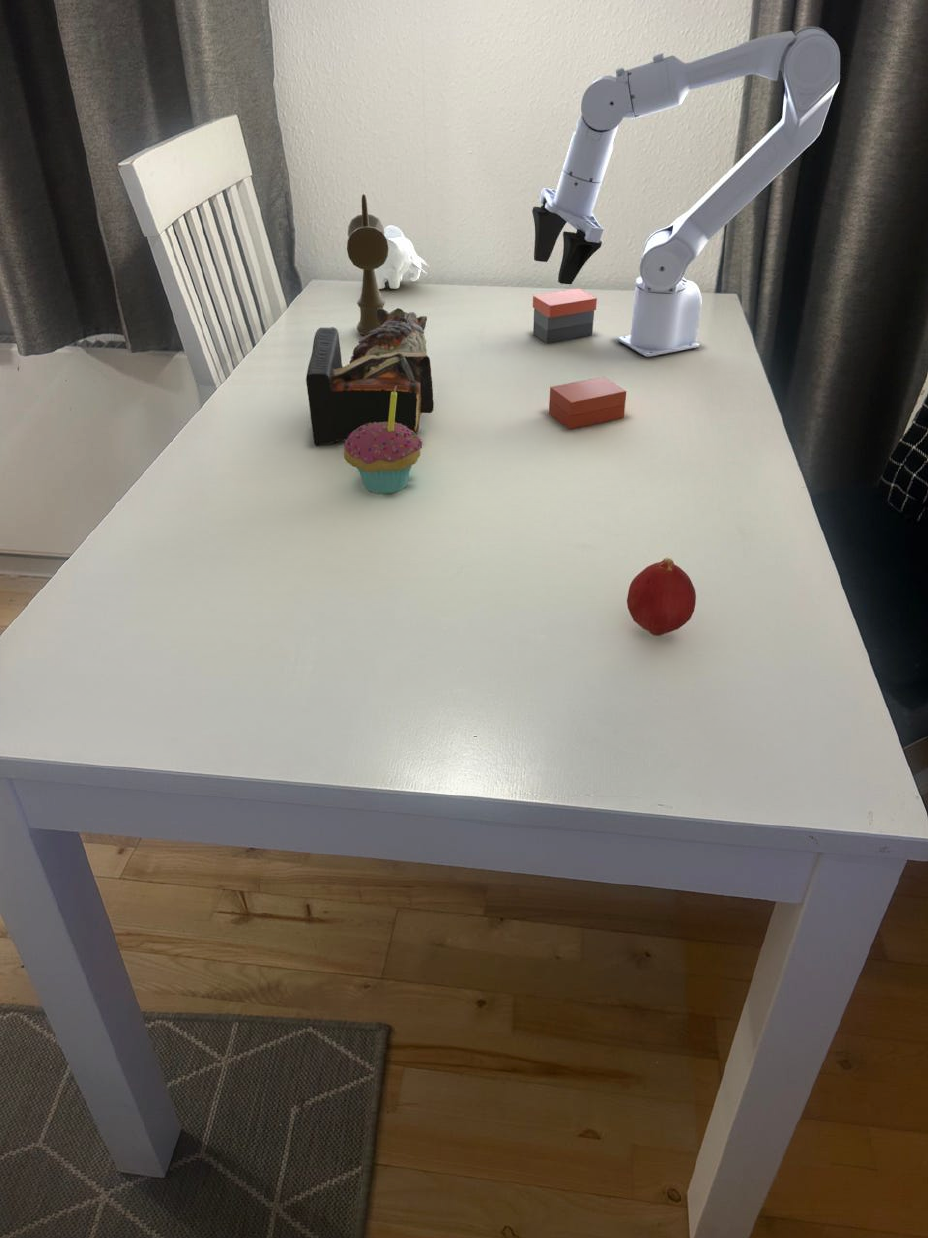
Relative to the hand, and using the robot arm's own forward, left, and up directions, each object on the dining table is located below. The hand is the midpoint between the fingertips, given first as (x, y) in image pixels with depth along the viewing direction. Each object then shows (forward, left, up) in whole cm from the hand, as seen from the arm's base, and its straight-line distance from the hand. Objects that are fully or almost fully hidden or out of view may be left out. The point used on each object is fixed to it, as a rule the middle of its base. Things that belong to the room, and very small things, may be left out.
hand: (552, 271), depth 134 cm
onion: (+27, +69, -10) cm, 75 cm away
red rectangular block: (+9, +27, -10) cm, 30 cm away
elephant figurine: (+11, -35, -10) cm, 38 cm away
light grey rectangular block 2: (-3, 0, -8) cm, 8 cm away
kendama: (+23, -14, -10) cm, 29 cm away
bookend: (+32, +12, -10) cm, 36 cm away
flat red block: (-3, 0, -6) cm, 6 cm away
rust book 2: (+9, +27, -8) cm, 29 cm away
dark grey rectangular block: (-3, 0, -10) cm, 10 cm away
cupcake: (+39, +33, -10) cm, 52 cm away
